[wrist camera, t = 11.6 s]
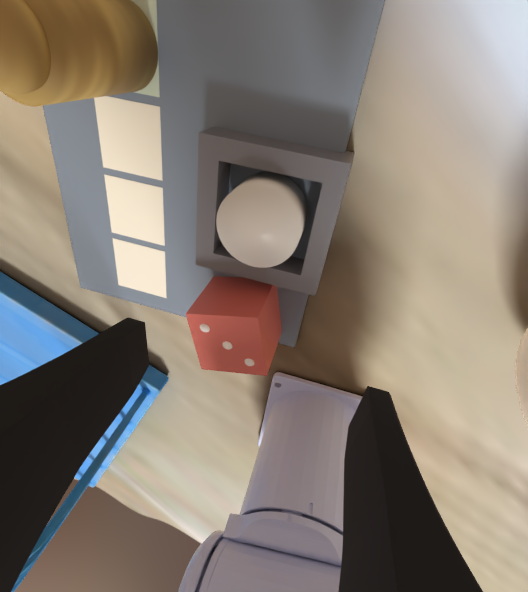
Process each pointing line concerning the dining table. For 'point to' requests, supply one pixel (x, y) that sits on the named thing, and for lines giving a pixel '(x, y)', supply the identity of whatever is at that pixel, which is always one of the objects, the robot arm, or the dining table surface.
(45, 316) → the file sorter
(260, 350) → the die
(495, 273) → the dining table surface
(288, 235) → the dome
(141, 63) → the tan rounded peg
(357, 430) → the robot arm
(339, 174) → the dome housing
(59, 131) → the board
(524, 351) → the lidded jar
